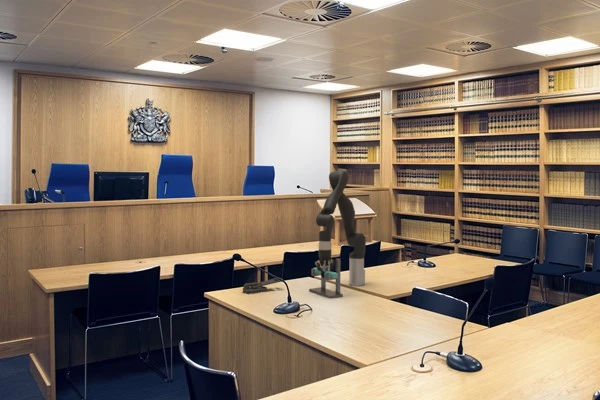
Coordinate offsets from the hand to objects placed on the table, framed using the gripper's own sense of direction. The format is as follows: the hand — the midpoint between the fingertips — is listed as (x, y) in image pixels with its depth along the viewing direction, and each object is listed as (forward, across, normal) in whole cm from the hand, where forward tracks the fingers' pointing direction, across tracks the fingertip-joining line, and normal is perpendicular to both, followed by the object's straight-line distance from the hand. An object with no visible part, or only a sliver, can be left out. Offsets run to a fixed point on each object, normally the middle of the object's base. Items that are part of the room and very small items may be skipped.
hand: (325, 277), depth 313 cm
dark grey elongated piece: (+10, +27, -27) cm, 40 cm away
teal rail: (-2, 0, 0) cm, 2 cm away
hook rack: (+10, -1, 0) cm, 10 cm away
